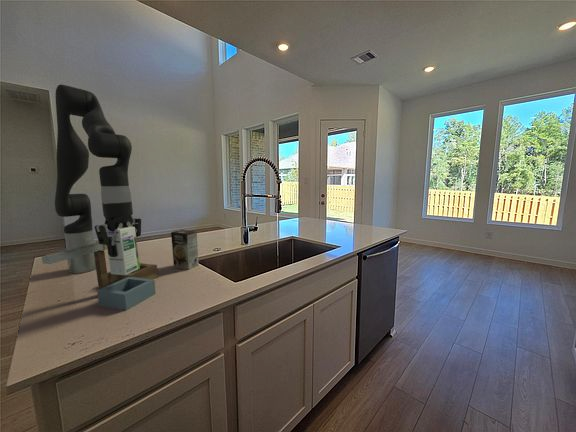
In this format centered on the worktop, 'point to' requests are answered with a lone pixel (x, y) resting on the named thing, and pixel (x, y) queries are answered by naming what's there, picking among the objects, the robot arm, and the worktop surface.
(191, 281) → the worktop surface
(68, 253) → the bar
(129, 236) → the syrup box
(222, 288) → the worktop surface
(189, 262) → the coffee box
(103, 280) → the socket block
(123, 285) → the blue-grey hollow box
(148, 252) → the worktop surface
